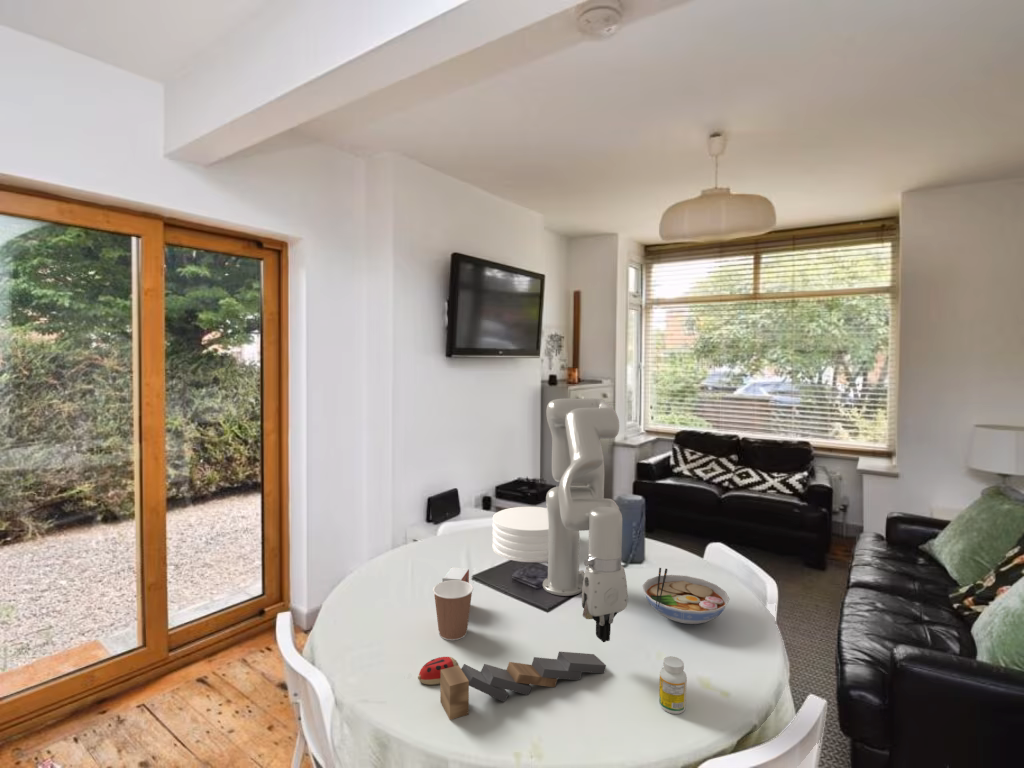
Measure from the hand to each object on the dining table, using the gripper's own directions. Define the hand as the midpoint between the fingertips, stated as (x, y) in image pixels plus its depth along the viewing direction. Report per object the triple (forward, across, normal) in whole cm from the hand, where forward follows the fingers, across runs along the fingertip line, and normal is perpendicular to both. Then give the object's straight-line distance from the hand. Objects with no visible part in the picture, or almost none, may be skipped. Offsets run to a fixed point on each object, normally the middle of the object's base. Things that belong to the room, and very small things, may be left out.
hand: (602, 638), depth 127 cm
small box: (+7, -22, +40) cm, 46 cm away
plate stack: (+7, +19, +74) cm, 77 cm away
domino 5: (+6, -1, 0) cm, 6 cm away
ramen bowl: (+7, +34, +10) cm, 36 cm away
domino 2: (+6, -20, 0) cm, 21 cm away
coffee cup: (+7, -27, +28) cm, 39 cm away
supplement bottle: (+7, +5, -18) cm, 20 cm away
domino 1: (+6, -26, 0) cm, 26 cm away
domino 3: (+6, -14, 0) cm, 15 cm away
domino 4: (+6, -8, 0) cm, 9 cm away
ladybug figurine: (+7, -36, +12) cm, 38 cm away
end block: (+7, -36, 0) cm, 37 cm away
